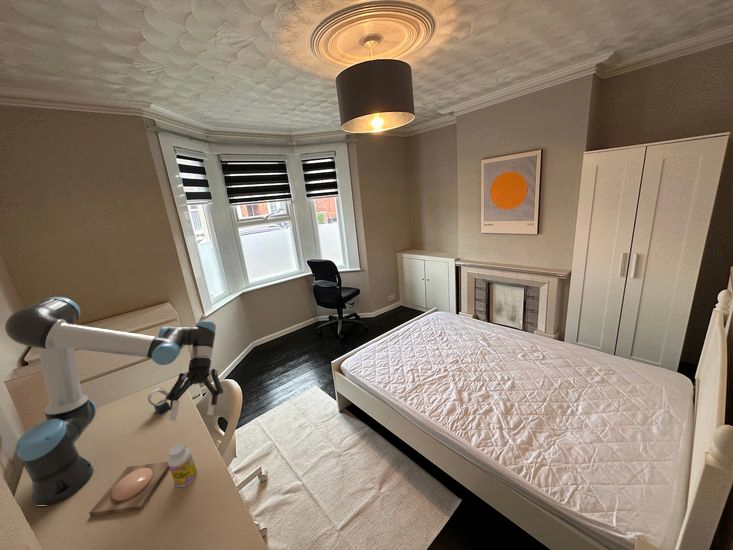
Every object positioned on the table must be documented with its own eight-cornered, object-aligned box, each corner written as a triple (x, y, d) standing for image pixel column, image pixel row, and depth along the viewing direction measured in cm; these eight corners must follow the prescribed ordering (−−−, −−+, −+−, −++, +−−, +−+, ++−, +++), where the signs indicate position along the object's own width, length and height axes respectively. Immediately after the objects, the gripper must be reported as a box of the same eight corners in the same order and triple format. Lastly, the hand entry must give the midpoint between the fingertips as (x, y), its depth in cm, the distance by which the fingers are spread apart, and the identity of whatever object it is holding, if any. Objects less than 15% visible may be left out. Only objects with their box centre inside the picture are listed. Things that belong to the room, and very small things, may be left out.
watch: (174, 406, 139) (168, 386, 137) (155, 417, 133) (148, 396, 130) (170, 402, 143) (163, 383, 140) (151, 412, 137) (143, 392, 134)
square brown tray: (90, 516, 91) (88, 512, 90) (128, 470, 106) (127, 466, 106) (142, 509, 91) (140, 505, 91) (172, 464, 107) (171, 461, 106)
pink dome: (103, 503, 93) (102, 501, 93) (129, 472, 104) (128, 470, 103) (138, 498, 93) (137, 496, 93) (160, 468, 104) (159, 465, 103)
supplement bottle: (172, 491, 96) (161, 460, 93) (179, 473, 102) (168, 444, 99) (194, 484, 98) (184, 453, 94) (200, 467, 104) (190, 438, 101)
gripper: (236, 357, 120) (230, 413, 110) (175, 365, 120) (163, 422, 109) (227, 352, 114) (220, 412, 103) (163, 361, 113) (149, 421, 103)
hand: (191, 417), depth 106 cm, fingers open, 13 cm apart
